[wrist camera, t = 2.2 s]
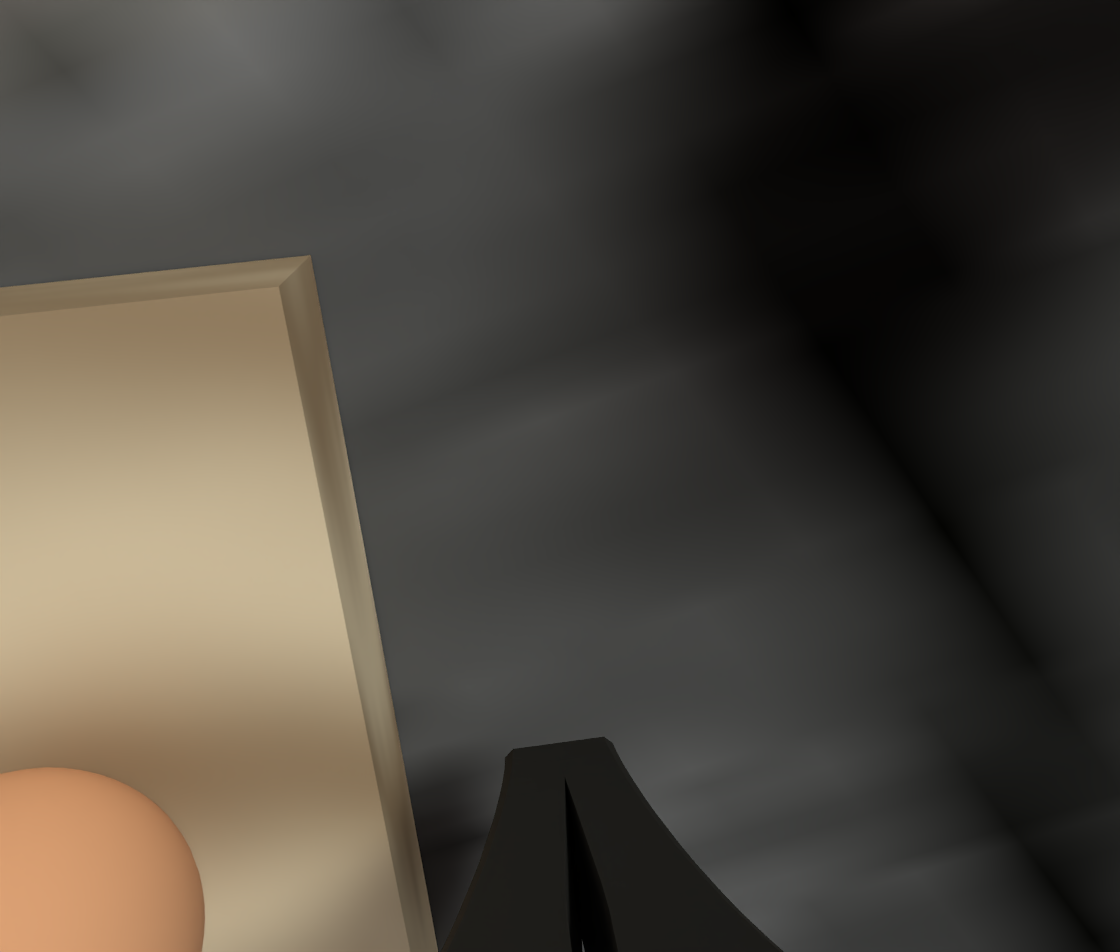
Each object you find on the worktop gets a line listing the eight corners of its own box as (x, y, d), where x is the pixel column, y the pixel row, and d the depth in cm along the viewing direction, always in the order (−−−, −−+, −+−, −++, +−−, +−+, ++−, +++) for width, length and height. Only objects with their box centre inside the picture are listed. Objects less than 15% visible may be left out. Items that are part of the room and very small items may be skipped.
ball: (262, 914, 14) (190, 1208, 10) (-19, 955, 14) (-195, 1269, 10) (200, 683, 12) (91, 926, 9) (-116, 724, 12) (-365, 992, 9)
